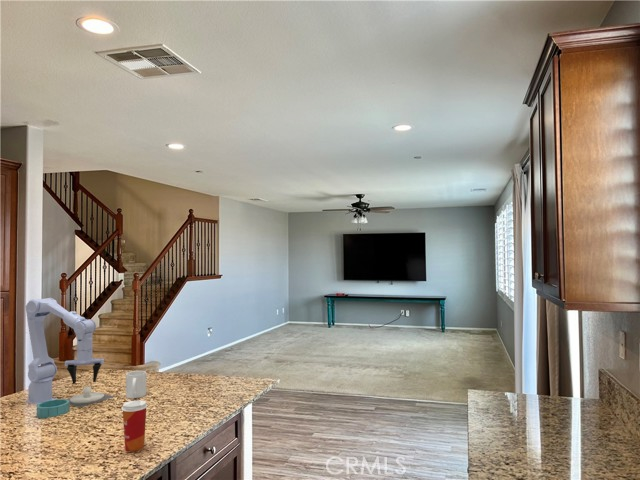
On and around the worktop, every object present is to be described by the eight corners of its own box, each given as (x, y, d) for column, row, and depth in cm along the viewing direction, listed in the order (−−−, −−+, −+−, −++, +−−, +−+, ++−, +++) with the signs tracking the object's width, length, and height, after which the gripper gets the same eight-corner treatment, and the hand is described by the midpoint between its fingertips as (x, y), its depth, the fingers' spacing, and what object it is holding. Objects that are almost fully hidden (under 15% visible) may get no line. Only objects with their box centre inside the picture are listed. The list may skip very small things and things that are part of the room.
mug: (143, 401, 194) (143, 376, 195) (122, 402, 192) (122, 378, 193) (147, 393, 206) (147, 370, 206) (127, 394, 204) (127, 371, 204)
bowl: (30, 415, 178) (30, 405, 178) (58, 407, 187) (58, 397, 188) (47, 420, 172) (47, 409, 173) (74, 411, 182) (74, 401, 182)
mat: (58, 402, 194) (58, 401, 194) (92, 392, 208) (92, 391, 208) (81, 408, 186) (81, 407, 186) (115, 397, 200) (115, 396, 200)
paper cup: (126, 443, 149) (126, 400, 150) (150, 442, 150) (150, 399, 150) (117, 453, 141) (117, 407, 142) (143, 452, 142) (143, 406, 143)
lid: (63, 401, 194) (63, 389, 194) (91, 393, 205) (91, 381, 206) (82, 405, 188) (82, 393, 188) (110, 396, 199) (110, 385, 199)
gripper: (62, 352, 184) (62, 386, 184) (101, 350, 188) (101, 383, 187) (67, 349, 191) (67, 381, 191) (105, 347, 195) (105, 379, 194)
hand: (84, 382), depth 189 cm, fingers open, 7 cm apart
